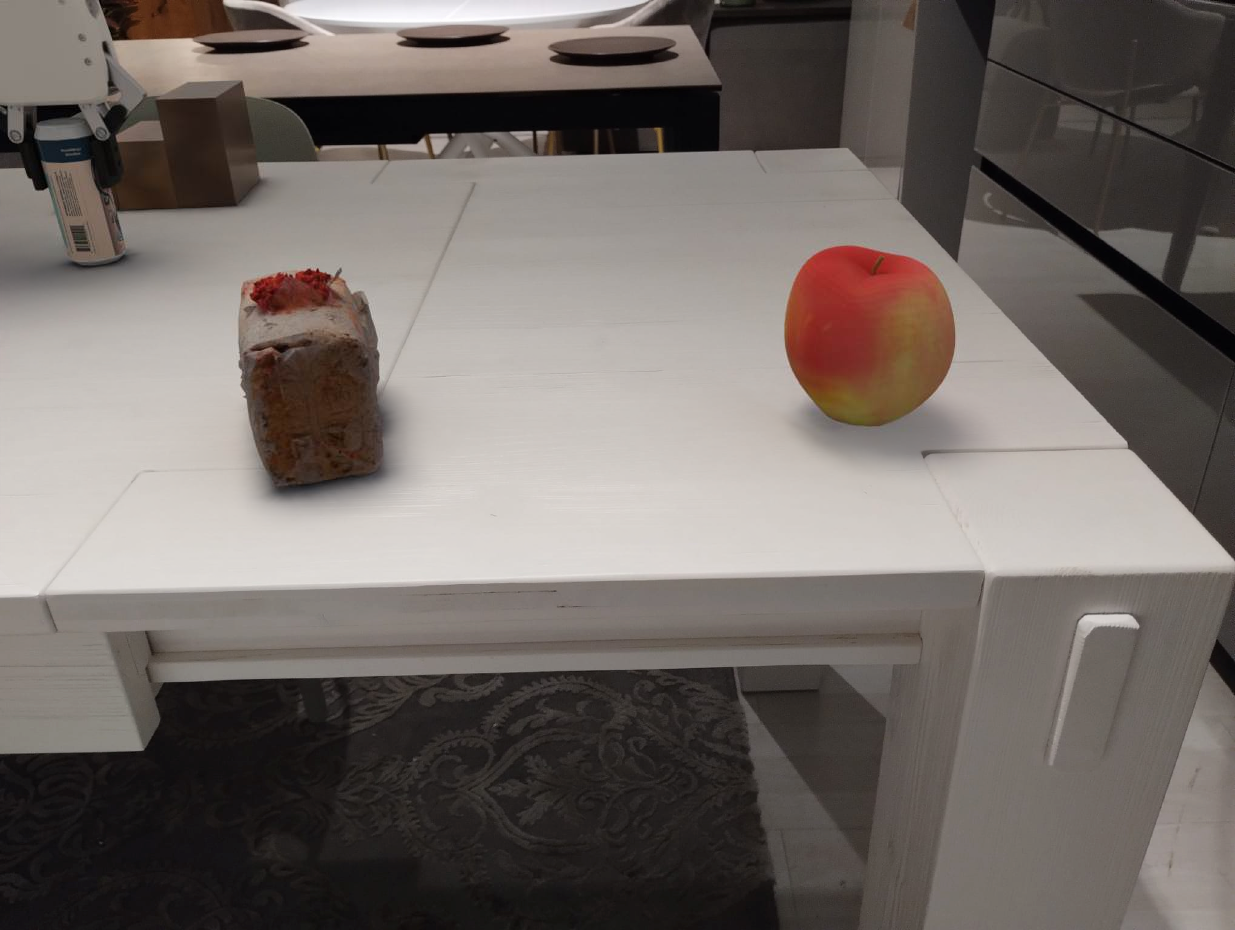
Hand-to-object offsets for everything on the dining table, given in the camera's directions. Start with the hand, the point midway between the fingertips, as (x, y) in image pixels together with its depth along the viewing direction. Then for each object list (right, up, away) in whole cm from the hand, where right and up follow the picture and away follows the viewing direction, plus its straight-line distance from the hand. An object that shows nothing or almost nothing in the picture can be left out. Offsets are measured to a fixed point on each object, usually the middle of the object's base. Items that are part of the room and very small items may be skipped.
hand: (78, 183), depth 88 cm
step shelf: (-3, +5, +24) cm, 25 cm away
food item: (+30, -23, -28) cm, 47 cm away
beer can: (0, -6, +3) cm, 7 cm away
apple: (+62, -22, -27) cm, 71 cm away
